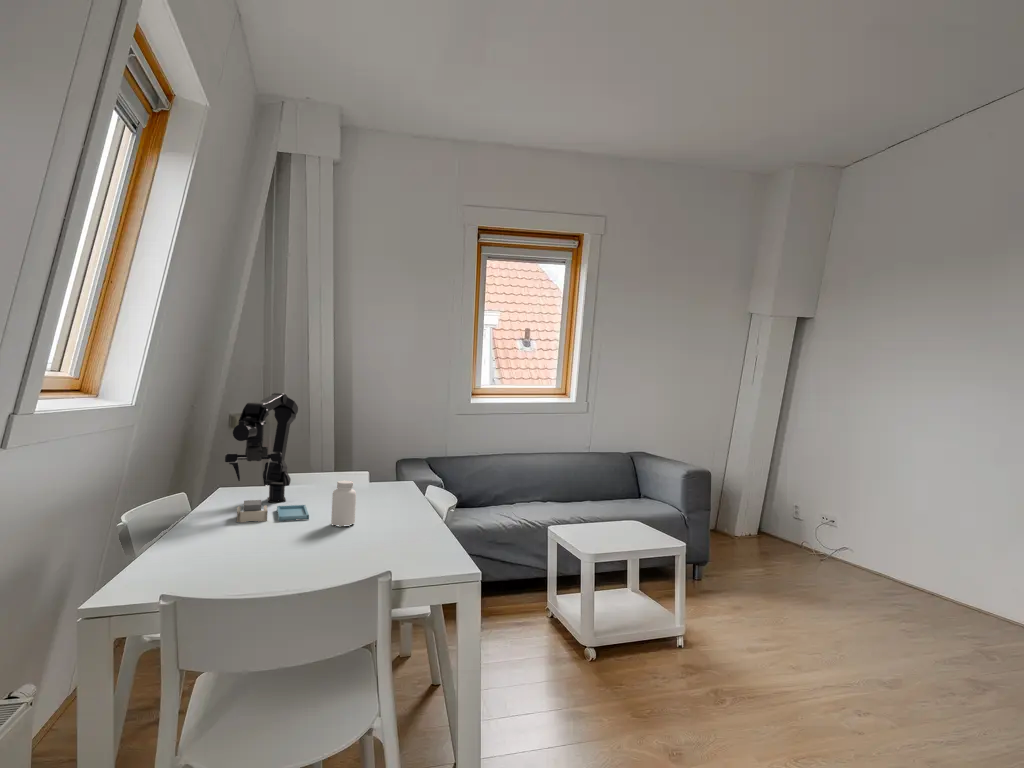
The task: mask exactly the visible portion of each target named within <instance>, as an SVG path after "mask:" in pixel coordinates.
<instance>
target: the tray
mask: <svg viewBox="0 0 1024 768" xmlns="http://www.w3.org/2000/svg"><path fill="white" fill-rule="evenodd" d="M276 512H278V513H277V518H279V519H278V522H284V521H283V520H294V521H297V520H296V519H310V514H309V511H308V508H307V506H306V504H294V505H292V504H291V505H277V506H276Z"/></svg>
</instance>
